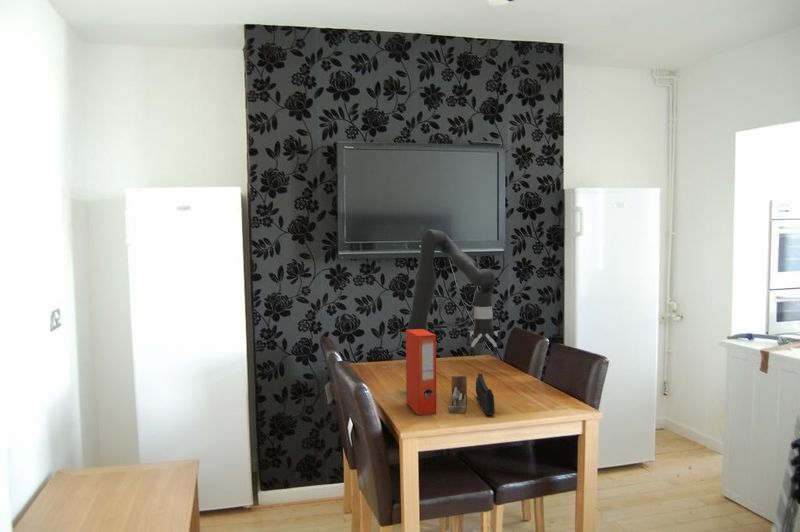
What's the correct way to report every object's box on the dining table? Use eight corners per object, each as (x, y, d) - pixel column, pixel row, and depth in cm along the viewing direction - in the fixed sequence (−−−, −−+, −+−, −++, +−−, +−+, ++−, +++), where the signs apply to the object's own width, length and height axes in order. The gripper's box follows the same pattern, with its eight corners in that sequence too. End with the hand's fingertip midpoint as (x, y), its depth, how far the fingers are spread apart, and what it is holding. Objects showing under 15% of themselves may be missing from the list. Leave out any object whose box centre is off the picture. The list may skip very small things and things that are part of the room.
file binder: (424, 402, 246) (423, 328, 245) (437, 413, 229) (435, 334, 228) (406, 404, 244) (405, 329, 243) (417, 415, 227) (416, 336, 226)
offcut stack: (453, 410, 234) (452, 396, 233) (455, 401, 247) (454, 387, 247) (461, 410, 233) (461, 396, 233) (462, 401, 247) (462, 387, 247)
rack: (448, 413, 230) (448, 388, 229) (452, 398, 252) (451, 375, 251) (465, 413, 229) (464, 388, 228) (466, 398, 251) (466, 375, 250)
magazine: (495, 396, 220) (483, 358, 249) (487, 396, 220) (476, 359, 249) (493, 433, 226) (482, 393, 254) (485, 434, 226) (475, 393, 254)
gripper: (500, 315, 240) (501, 353, 241) (466, 315, 242) (467, 353, 243) (501, 318, 232) (501, 357, 233) (465, 318, 234) (466, 357, 235)
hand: (484, 355), depth 238 cm, fingers open, 8 cm apart
